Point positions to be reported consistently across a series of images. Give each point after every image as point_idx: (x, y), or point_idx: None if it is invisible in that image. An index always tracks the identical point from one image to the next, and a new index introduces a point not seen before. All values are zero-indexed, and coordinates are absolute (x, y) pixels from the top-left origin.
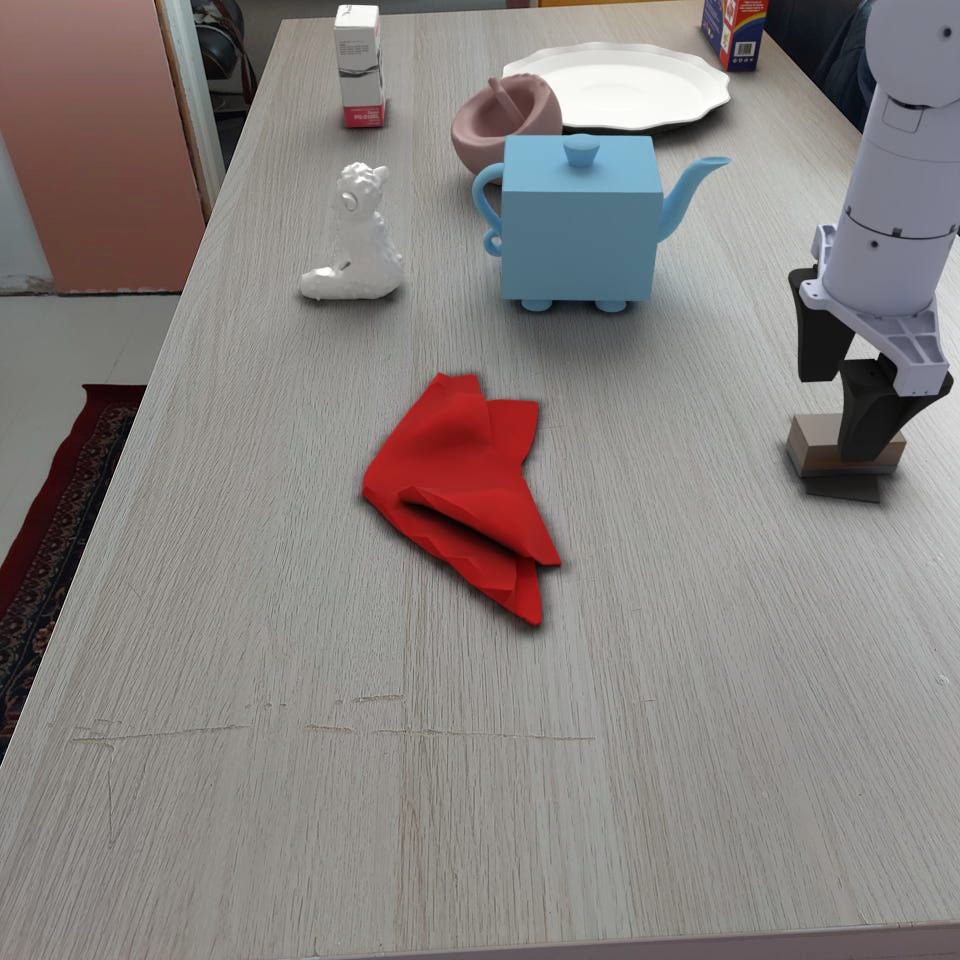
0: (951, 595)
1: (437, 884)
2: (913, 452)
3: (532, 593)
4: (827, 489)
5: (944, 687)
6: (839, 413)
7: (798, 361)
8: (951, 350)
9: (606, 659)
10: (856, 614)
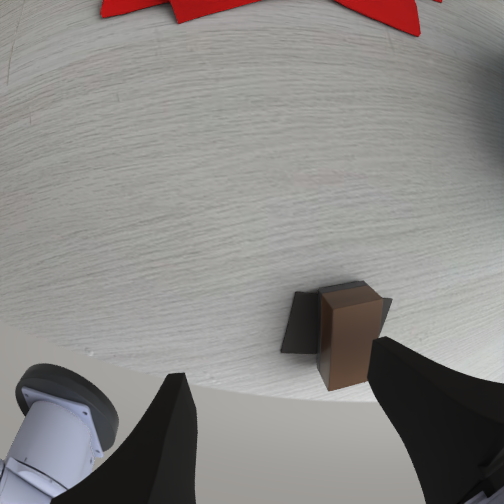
0: None
1: None
2: None
3: (136, 4)
4: (299, 312)
5: (83, 351)
6: None
7: (402, 348)
8: None
9: (65, 78)
10: (136, 309)
